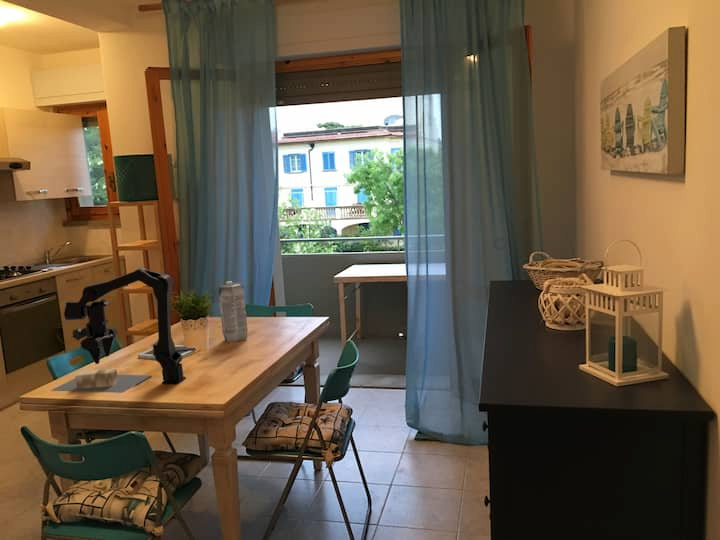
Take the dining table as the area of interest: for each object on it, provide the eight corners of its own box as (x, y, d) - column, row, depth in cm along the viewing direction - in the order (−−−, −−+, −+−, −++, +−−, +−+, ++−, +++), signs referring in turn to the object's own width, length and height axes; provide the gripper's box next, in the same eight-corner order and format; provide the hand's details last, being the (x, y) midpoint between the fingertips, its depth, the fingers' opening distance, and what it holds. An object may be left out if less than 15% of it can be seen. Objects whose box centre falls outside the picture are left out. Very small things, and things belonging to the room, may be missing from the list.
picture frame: (201, 351, 261) (163, 348, 269) (200, 345, 260) (163, 342, 268) (176, 362, 246) (138, 359, 255) (176, 356, 246) (137, 353, 254)
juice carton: (249, 339, 272) (244, 281, 268) (226, 343, 268) (220, 284, 264) (244, 335, 280) (239, 279, 276) (222, 339, 276) (216, 282, 272)
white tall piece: (116, 368, 222) (81, 371, 222) (111, 372, 217) (75, 375, 217) (118, 381, 223) (82, 384, 223) (113, 386, 218) (77, 388, 218)
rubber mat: (151, 376, 228) (151, 375, 228) (122, 394, 211) (122, 392, 211) (84, 375, 235) (83, 373, 235) (50, 392, 218) (50, 390, 218)
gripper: (85, 314, 226) (91, 353, 228) (62, 326, 207) (68, 369, 210) (115, 312, 226) (120, 352, 228) (94, 324, 208) (100, 367, 210)
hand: (102, 359), depth 219 cm, fingers open, 9 cm apart
